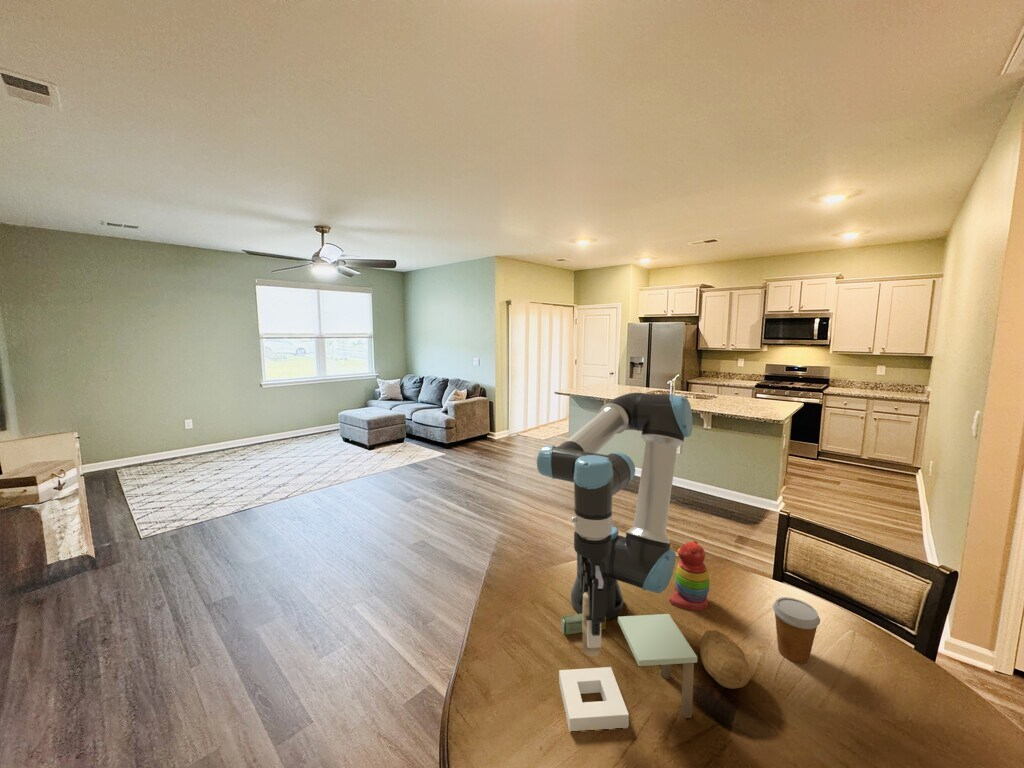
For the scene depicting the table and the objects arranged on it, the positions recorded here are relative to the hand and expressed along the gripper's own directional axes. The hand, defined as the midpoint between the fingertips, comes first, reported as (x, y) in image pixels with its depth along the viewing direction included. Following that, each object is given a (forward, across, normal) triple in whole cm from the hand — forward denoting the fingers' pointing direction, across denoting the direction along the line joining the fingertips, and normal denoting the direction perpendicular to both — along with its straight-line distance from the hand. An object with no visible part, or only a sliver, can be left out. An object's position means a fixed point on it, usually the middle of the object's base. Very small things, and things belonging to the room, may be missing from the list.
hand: (591, 638), depth 86 cm
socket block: (+15, 0, 0) cm, 15 cm away
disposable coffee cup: (+15, -10, +53) cm, 56 cm away
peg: (+3, 0, 0) cm, 3 cm away
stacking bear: (+15, -32, +38) cm, 52 cm away
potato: (+15, -5, +32) cm, 36 cm away
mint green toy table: (+15, -1, +14) cm, 21 cm away
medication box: (+15, -23, +4) cm, 28 cm away
